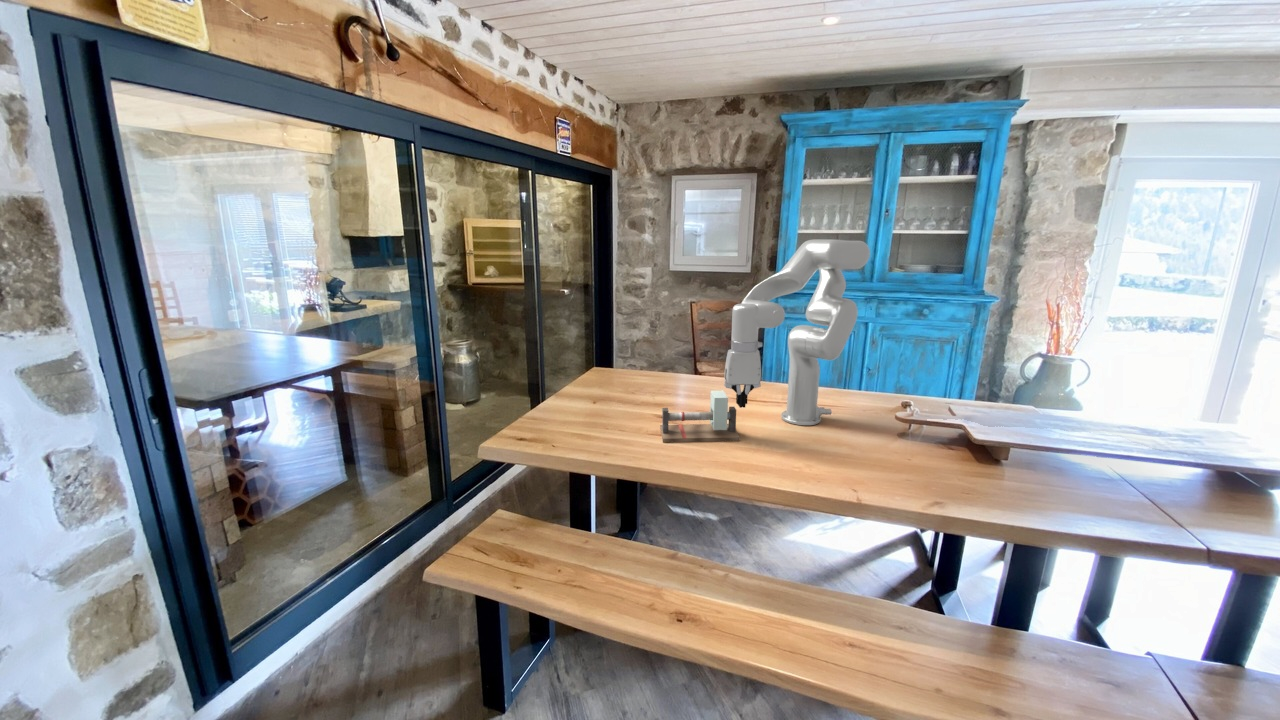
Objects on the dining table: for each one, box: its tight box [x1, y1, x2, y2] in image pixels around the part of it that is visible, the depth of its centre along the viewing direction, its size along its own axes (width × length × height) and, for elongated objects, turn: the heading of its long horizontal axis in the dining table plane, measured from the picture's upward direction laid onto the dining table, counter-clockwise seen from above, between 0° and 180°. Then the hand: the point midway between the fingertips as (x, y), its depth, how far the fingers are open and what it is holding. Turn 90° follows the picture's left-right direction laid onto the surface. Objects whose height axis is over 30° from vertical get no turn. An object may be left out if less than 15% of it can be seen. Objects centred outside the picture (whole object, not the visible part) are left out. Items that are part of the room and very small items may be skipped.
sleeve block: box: [709, 390, 729, 430], centre depth 153 cm, size 4×7×10 cm, turn 2°
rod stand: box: [659, 406, 741, 443], centre depth 154 cm, size 23×11×8 cm, turn 92°
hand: (741, 406), depth 150 cm, fingers closed
